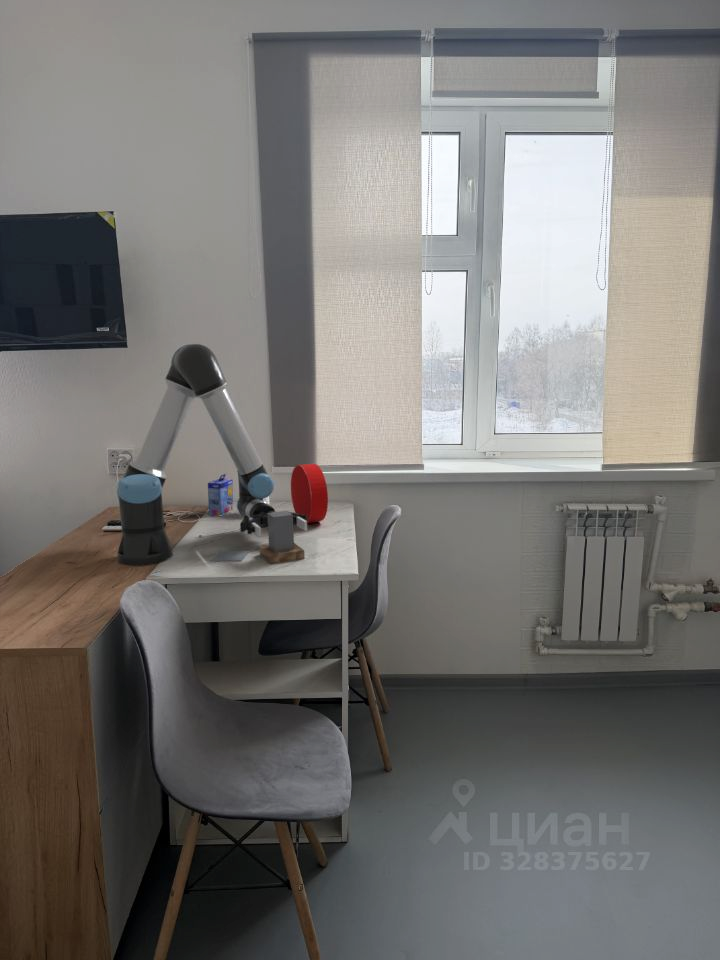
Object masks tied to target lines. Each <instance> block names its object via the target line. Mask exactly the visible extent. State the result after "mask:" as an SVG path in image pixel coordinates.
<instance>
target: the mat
mask: <svg viewBox="0 0 720 960" xmlns="http://www.w3.org/2000/svg"><path fill="white" fill-rule="evenodd" d="M249 553H250V550H218V552H216V554H215V555H213V556H212V557H211V559H209V562H243V560H244V559H245V558H246V557H247V556H248V554H249Z"/></svg>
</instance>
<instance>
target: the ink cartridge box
mask: <svg viewBox="0 0 720 960" xmlns="http://www.w3.org/2000/svg"><path fill="white" fill-rule="evenodd" d="M226 474H227V473H223V474H221V475H220V476H219V478H218V479H215V480H212V481H209V482H207V498H208V515H209V516H215V515H222V516H224V515H223V514H225V513H227V512H229V511H231V510H233V511H234V485H233V484H234V483H233V479H232V478H225V477H226ZM231 512H232V511H231ZM229 513H230V512H229ZM227 514H228V513H227ZM225 515H226V514H225Z"/></svg>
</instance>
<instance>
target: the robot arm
mask: <svg viewBox="0 0 720 960" xmlns="http://www.w3.org/2000/svg"><path fill="white" fill-rule="evenodd" d="M224 376H225V375H224V374H223V371H222V368H221V367H220V364H219V360H218V359H217V356H216V355H215V354H214V352H213V350H211V348H209V347H208V346H205V345H204V344H200V343H192V344H184V345H182V346H181V347H179V348H178V349H177V350H176V351H175V352H174V353H173V355H172V358H171V362H170V367H169V369H168V371H167V375H166V377H165V378H164V380H165V384H166V389H165V393H164V394H163V397H162V399H161V400H160V401H161V402H160V404H159V407H158V409H157V412H156V413H155V416H154V418H153V421H152V423H151V425H150V427H149V429H148V432H147V433H146V437H145V439H144V441H143V444H142V447H141V448H140V451H139V454H138V456H137V458H136V459H135V460H134V461H131V462H129V463H128V465H127V469H126V471H125V473H124V475H123V477H122V478H121V479H120V480H118V483H117V489H116V493H117V499H118V503H119V505H118V506H119V513H120V514H119V515H120V527H121V538H120V541H119V545H118V548H117V562H118V563H120V564H122V565H125V566H127V565H128V566H145V565H152V564H158V563H160V562H164V561H166V559H167V560H169V559H171V558H172V557H173V556H174V554H173V546H172V544H171V541H170V540H169V537H168V535H167V532H166V530H165V521H164V520H165V519H164V506H163V495H162V494H163V493H162V491H163V487H164V484H166V483H165V482H166V479H167V475H166V473H165V469H166V466H167V464H168V462H169V460H170V457H171V455H172V453H173V450H174V449H175V446H176V444H177V441H178V439H179V437H180V434H181V431H182V429H183V427H184V424H185V422H186V421H187V420H186V419H187V417H188V415H189V412H190V410H191V408H192V407H193V404H194V401H195V399H196V398H199V399H200V400H201V401H202V402H203V405H204V407H205V409H206V411H207V412H208V415H209V417H210V418H211V420H212V423H213V424H214V427H215V429H216V430H217V432H218V435H219V436H220V438H221V440H222V443H223V444H224V446H225V448H226V450H227V451H228V453H229V456H230V458H231V461H232V462H233V464H234V466H235V467H236V469H237V481H238V499H237V502H236V509H237V511H238V513H239V514H240V515H241V516H242V517H243V519H242V520H241V522H240V525H239V526H240V527H239V528H240V533H244V532H247V535H252V533H253V534H254V535H255V536H256V537H258V538H262V529H266V528H267V529H268V516H267V513H271V512H276V510H275V509H274V507H273V506H272V505H271V504H270V503H269V504H267V503H266V502H264V501H263V498H266V497H268V496H269V497H270V495H271V494H272V493H273V492H274V489H275V488H274V487H275V484H274V481H273V479H272V477H271V476H270V475H269V474H268V471H267V470H266V468H265V466H264V464H263V461H262V460H261V458H260V455H259V454H258V452H257V449H256V447H255V446H254V444H253V441H252V439H251V437H250V435H249V433H248V431H247V429H246V428H245V424H244V423H243V420H242V418H241V416H240V415H239V413H238V411H237V409H236V405H235V404H234V403H233V400H232V399H231V396H230V394H229V393H228V390H227V385H228V382H227V380H226V377H224ZM288 512H289V513H291V514H292V515H293V525H295V526H297V527H298V528H299V529H301V530H303V531H306V532H307V531H308V523H307V515H304V514H298V513H295V512H292V511H291V512H290V511H288ZM171 556H172V557H171ZM170 557H171V558H170ZM168 558H169V559H168Z"/></svg>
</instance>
